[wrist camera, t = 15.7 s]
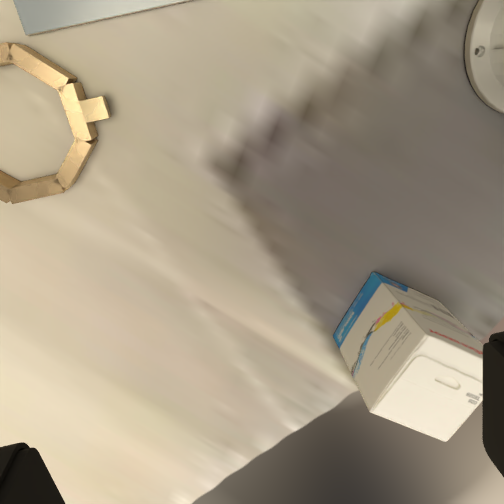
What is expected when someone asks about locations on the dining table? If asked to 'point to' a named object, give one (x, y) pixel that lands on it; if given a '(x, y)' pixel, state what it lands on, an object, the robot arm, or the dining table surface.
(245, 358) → the dining table surface
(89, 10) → the plate
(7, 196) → the collar
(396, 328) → the ink box
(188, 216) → the dining table surface
